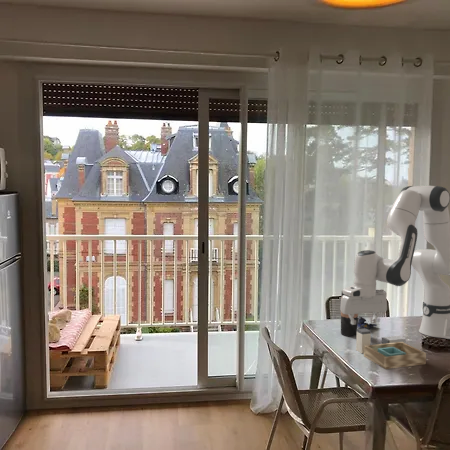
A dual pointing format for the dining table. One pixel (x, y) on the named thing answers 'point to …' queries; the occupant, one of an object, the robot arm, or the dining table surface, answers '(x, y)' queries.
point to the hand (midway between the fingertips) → (363, 323)
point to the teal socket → (390, 351)
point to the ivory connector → (362, 339)
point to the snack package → (364, 324)
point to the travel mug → (348, 324)
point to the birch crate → (389, 362)
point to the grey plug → (393, 339)
